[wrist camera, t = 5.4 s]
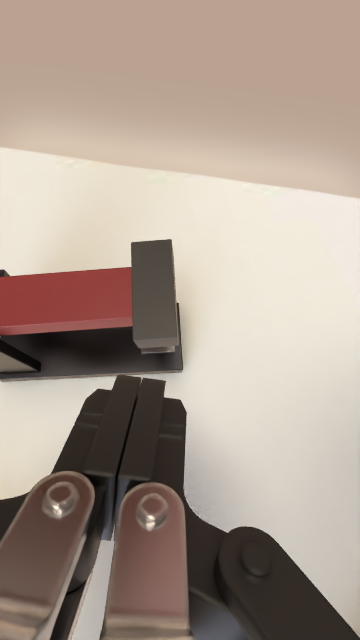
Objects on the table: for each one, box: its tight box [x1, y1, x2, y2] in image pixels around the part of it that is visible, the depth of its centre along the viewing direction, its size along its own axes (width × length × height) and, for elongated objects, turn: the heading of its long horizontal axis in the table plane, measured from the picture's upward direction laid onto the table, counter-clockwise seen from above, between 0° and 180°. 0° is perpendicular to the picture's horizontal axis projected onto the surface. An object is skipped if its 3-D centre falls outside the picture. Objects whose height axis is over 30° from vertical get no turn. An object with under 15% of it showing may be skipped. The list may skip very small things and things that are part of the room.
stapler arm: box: [0, 239, 179, 348], centre depth 20 cm, size 13×6×2 cm, turn 94°
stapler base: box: [0, 270, 183, 381], centre depth 25 cm, size 15×6×9 cm, turn 94°
